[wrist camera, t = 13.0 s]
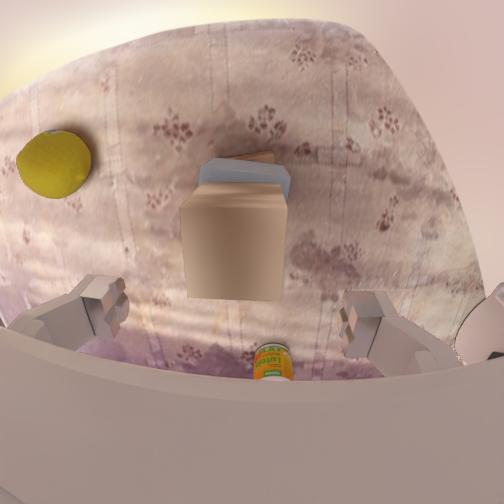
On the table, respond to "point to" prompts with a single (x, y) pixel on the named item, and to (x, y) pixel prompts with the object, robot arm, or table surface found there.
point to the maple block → (234, 241)
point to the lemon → (54, 164)
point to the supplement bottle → (273, 363)
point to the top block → (244, 173)
